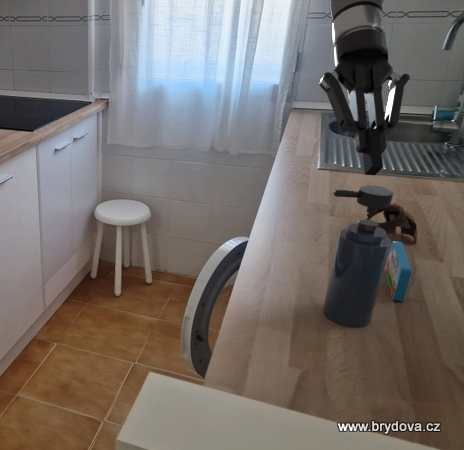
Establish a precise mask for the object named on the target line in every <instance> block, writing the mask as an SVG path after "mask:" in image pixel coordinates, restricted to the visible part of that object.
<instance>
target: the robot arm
mask: <svg viewBox="0 0 464 450" xmlns="http://www.w3.org/2000/svg"><path fill="white" fill-rule="evenodd" d="M386 1H387V0H328V2H329V8H330V14H331V29H332V31H331V32H332V41H333V47H334V48H333V52H334V66H335V68H334V70H333V71H332V72H329V71H327V72H325V73H323V76H322V78H321V79H320V82H319V84H318V85H319V87H320V88H321V89H322V91H324V92H325V93H326V95H327V98H328V101H329V103H330V106H331V109H332V111H333V114H334V116H335V119H336V121H337V124H338V127H339V129H340V131H341V132H342V133H347V132H349V133H351V135H350V136H351V138H352V139H354V143H355V151H356V152H357V154H362V162H363V171H364V175H365V176H376V175H377V174H378V173H379V172H381V170H382V169H383V168H384V163H383V155H382V154H383V153H384V152H385V151H386V149H387V145H388V144H387V136H386V134H387V135H389V134H391V133H392V131H393V130H394V129H395V128H396V127H397V126H398V124H399V120H400V116H401V115H400V114H401V108H402V102H403V96H404V91H405V87H406V85H407V83H408V82H409V80H410V79H411V75H410V74H408V73H403V74H402V75H400V74H398V73H397V72H394V68H393V66H392V65H391V63H390V61H389V48H388V42H387V36H386V27H385V20H384V19H385V18H384V11H383V3H385V2H386ZM387 81H388V86H389V87H388V89H389V94H388V98H387V104H386V110H385V107H384V100H383V99H384V98H383V93H382V91H383V86H384V84H385V83H386V82H387ZM342 87H343V88H345V89H346V90H347V98H346V96H345V93H344V90H343V88H342ZM347 99H348V100H349V103H348V101H347ZM366 105H367V106H366ZM366 107H367V108H366ZM367 114H368V116H367ZM368 122H369V123H368ZM368 124H369V127H368Z"/></svg>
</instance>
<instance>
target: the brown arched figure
mask: <svg viewBox="0 0 464 450" xmlns="http://www.w3.org/2000/svg"><path fill="white" fill-rule="evenodd" d="M381 213H382V215H383V217H384V219H385V221H384V222H377V223H378V227H380V228H382V229H383V230H385V231H386V235H392V236H394V237H395V236H397V228H398V227H399V228H400V235H408V236H410V237H412V238H413V244H414V245H416V244H417V243H418V229H417V223H416V220H415V218H414V217H413V215H412V214H411V213H410V212H409V211H407V210H405V209H404V208H403V207H402V206H401V205H400V204H398V203H397V202H393V203H391V205H390V207H388V208H383V209H378V208H377V209H376V213H368V212H367V213H366V216H367V218H366V219H367V220H372V218H373V217H375V216H376V215H378V214H381Z"/></svg>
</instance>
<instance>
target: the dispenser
mask: <svg viewBox="0 0 464 450" xmlns="http://www.w3.org/2000/svg"><path fill="white" fill-rule="evenodd" d="M378 223H379V222H377V221H375V220H372V219H370V220H367V218H362V219H359V220H358V222H354V223H351V224H348V225H347V227H346V228H343V229H342V230H340V231H339V233H338V237H337V243H336V246H335V247H336V248H335V252H334V257H333V261H332V265H331V270H330V274H329V279H328V284H327V288H326V289H327V290H326V293H325V296H324V297H325V298H324V303H323V307H322V313H323V316H325V318H326V319H328V320H329V321H330V322H332V323H334V324H336V325H339V326H341V327H346V328H352V329H360V328H365V327H367V326H369V325H370V324H371V322H372V318H373V315H374V310H375V307H376V302H377V299H378V296H379V291H380V288H381V284H382V280H383V276H384V273H385V269H386V265H387V261H388V257H389V253H390V250H391V246H392V240H391V239H390V237H389V236H387V234H386V231H385V230H383V229H382V228H380V227H378Z"/></svg>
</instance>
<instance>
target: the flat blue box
mask: <svg viewBox="0 0 464 450" xmlns="http://www.w3.org/2000/svg"><path fill="white" fill-rule="evenodd" d="M412 272H413V268H412V266H411V263H410V260H409V257H408V255H407V252H406V248H405V246H404V242H401V241H395V240H393V241H391V246H390V249H389V253H388V257H387V261H386V265H385V269H384V273H385V276H386V279H387V283H388V287H389V291H390V295H391V299H392V301H396V302H401V303H402V302H404V300H405V296H406V293H407V290H408V286H409V283H410V279H411V275H412Z"/></svg>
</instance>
